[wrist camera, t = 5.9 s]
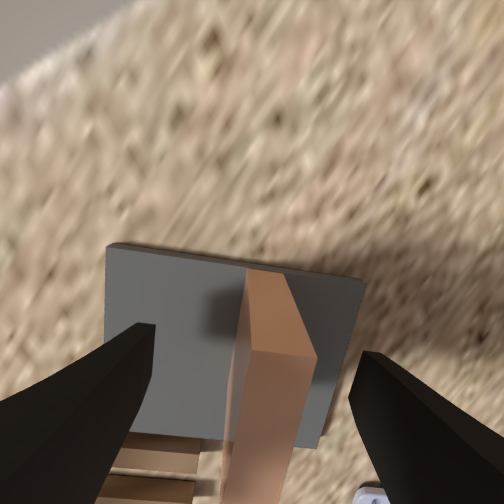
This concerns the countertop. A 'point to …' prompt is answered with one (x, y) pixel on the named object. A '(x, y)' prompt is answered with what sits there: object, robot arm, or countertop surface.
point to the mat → (217, 334)
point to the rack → (152, 458)
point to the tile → (264, 391)
